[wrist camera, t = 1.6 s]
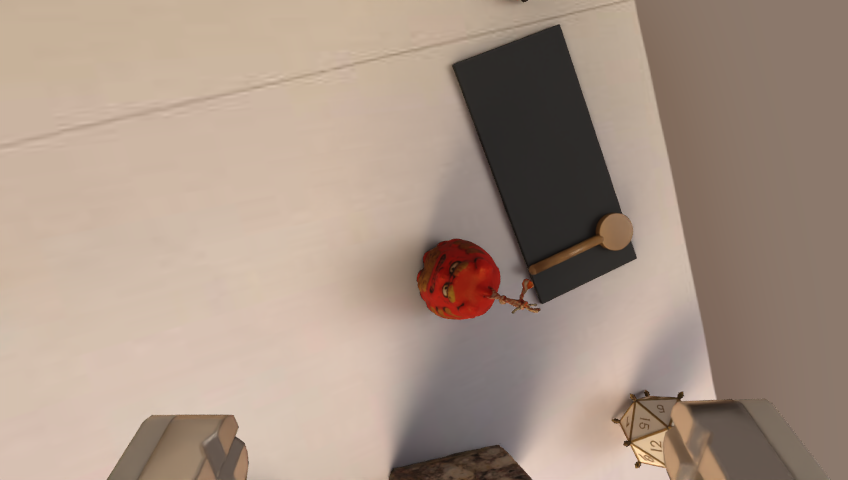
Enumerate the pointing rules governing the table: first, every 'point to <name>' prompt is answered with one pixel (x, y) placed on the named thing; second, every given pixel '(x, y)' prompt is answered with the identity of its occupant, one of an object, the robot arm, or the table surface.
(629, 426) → the game die
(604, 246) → the spoon
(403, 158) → the table surface
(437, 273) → the red clay folk toy
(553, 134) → the placemat
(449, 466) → the stone block
